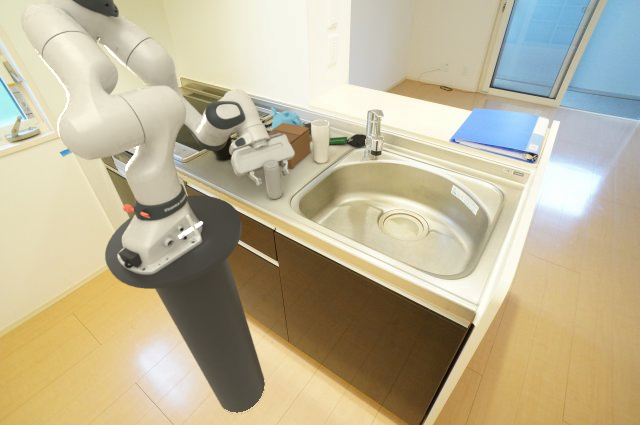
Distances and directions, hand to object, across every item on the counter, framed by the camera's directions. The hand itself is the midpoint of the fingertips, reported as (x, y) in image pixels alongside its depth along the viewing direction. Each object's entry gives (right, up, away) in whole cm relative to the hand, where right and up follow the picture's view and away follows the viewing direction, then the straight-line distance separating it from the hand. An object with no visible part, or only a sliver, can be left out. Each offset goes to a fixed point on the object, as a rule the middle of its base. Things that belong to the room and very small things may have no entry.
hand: (273, 179), depth 99 cm
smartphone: (+15, +22, +36) cm, 45 cm away
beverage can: (0, -5, +4) cm, 7 cm away
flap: (0, +17, +16) cm, 23 cm away
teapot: (0, +24, +40) cm, 46 cm away
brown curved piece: (-12, +31, +46) cm, 57 cm away
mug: (-21, +11, +25) cm, 35 cm away
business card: (+21, +18, +30) cm, 41 cm away
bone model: (+9, +24, +41) cm, 49 cm away
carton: (+2, +12, +24) cm, 27 cm away
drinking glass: (+15, +10, +22) cm, 28 cm away
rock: (+30, +21, +30) cm, 48 cm away
